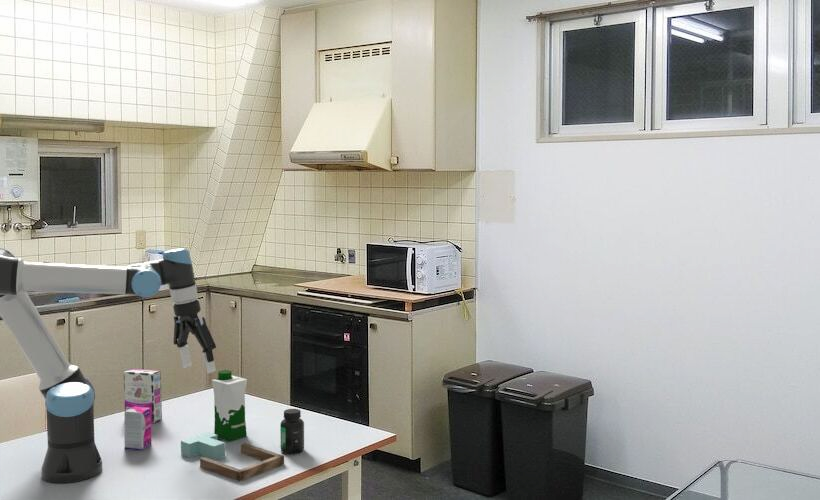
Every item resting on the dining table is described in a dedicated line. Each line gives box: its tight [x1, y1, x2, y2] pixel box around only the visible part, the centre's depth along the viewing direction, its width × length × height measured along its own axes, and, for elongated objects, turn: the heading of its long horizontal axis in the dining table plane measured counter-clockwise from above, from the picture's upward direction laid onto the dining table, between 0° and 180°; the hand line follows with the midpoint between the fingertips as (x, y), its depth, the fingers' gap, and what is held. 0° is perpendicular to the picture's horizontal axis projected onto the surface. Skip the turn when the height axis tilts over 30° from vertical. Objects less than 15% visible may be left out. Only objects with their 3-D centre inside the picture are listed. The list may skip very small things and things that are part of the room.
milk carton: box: [211, 369, 248, 442], centre depth 246 cm, size 9×9×20 cm
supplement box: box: [123, 406, 152, 451], centre depth 237 cm, size 6×6×12 cm
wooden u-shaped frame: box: [199, 442, 285, 482], centre depth 223 cm, size 16×16×2 cm
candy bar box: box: [123, 368, 163, 424], centre depth 262 cm, size 11×5×16 cm, turn 73°
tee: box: [180, 431, 226, 461], centre depth 232 cm, size 10×11×4 cm
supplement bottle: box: [279, 408, 305, 456], centre depth 235 cm, size 7×7×12 cm
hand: (199, 369), depth 240 cm, fingers open, 13 cm apart
